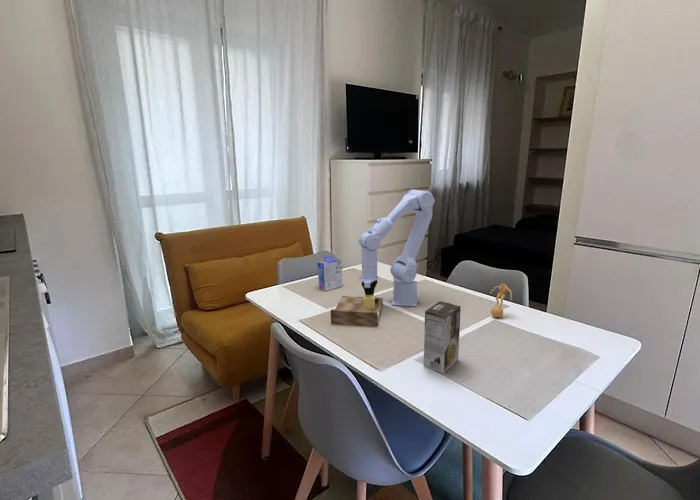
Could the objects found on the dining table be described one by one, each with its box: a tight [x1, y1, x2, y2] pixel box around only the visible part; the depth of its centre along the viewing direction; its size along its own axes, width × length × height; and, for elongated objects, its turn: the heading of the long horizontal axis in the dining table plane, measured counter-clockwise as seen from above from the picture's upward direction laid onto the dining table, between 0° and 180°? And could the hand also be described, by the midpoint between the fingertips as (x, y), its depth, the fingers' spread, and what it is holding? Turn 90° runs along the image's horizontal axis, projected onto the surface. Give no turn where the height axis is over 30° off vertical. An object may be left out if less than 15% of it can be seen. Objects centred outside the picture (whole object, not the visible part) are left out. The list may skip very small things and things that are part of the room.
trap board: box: [330, 295, 384, 328], centre depth 137 cm, size 16×21×5 cm
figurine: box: [489, 283, 513, 318], centre depth 131 cm, size 8×6×12 cm
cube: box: [362, 294, 375, 309], centre depth 136 cm, size 4×4×4 cm
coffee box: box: [423, 300, 462, 374], centre depth 101 cm, size 9×6×16 cm
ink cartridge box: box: [317, 254, 343, 292], centre depth 164 cm, size 10×6×14 cm, turn 129°
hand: (369, 299), depth 141 cm, fingers closed
